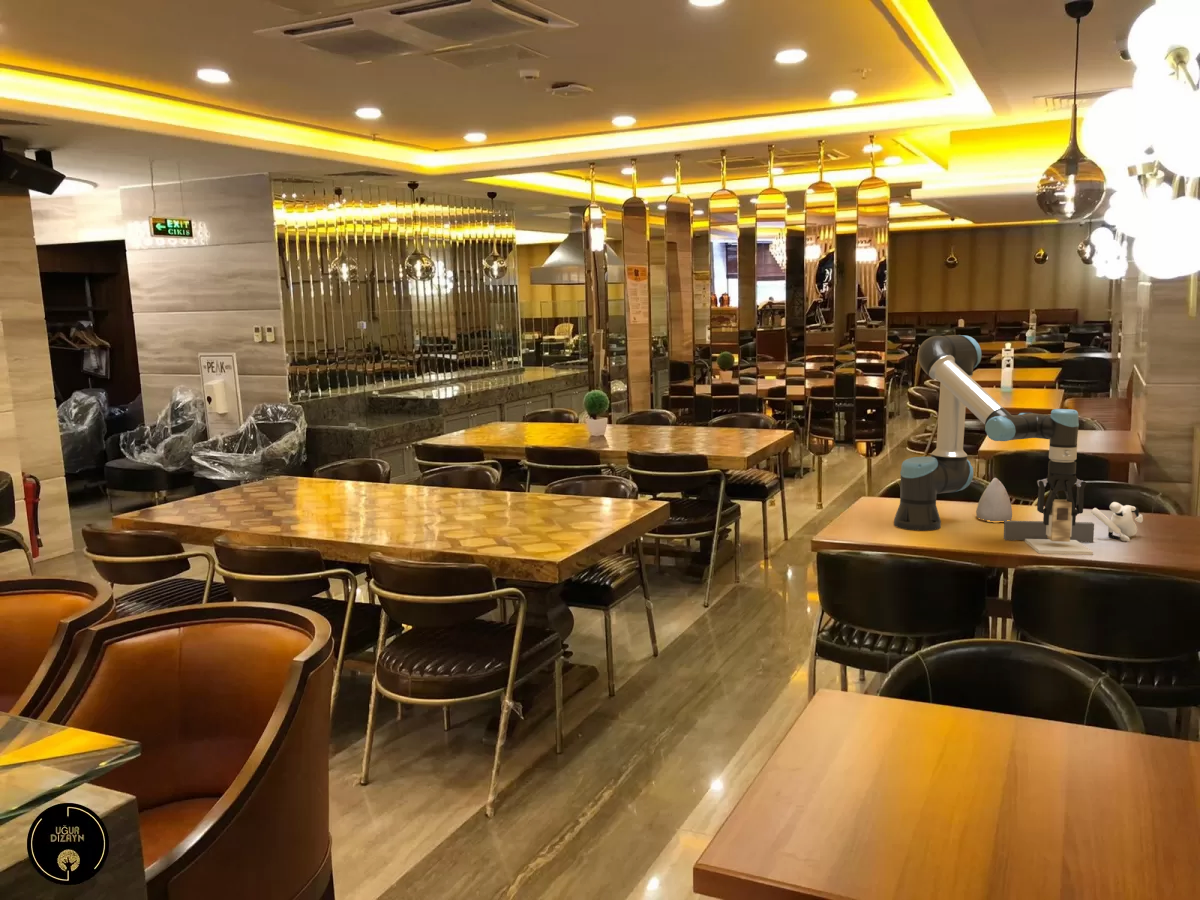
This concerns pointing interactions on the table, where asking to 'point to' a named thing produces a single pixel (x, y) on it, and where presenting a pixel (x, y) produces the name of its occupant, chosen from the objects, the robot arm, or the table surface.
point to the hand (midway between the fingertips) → (1058, 535)
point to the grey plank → (1038, 530)
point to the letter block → (1061, 520)
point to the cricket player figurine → (1120, 520)
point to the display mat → (1058, 547)
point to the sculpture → (994, 503)
